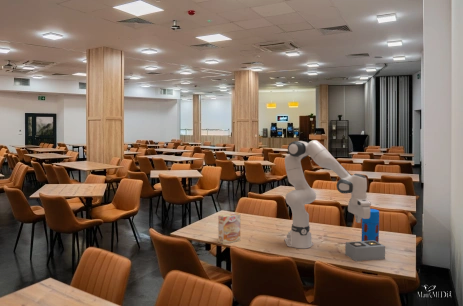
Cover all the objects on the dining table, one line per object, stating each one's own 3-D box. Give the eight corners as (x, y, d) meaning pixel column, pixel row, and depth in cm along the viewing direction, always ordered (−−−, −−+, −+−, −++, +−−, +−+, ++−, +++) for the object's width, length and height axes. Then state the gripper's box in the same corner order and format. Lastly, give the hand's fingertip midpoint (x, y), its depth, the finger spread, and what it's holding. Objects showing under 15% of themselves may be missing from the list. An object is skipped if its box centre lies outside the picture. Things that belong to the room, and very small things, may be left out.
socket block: (355, 261, 224) (355, 247, 223) (345, 254, 236) (345, 241, 235) (384, 258, 228) (385, 245, 227) (373, 252, 240) (374, 239, 239)
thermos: (372, 250, 244) (373, 212, 242) (358, 246, 252) (358, 210, 251) (381, 247, 250) (382, 210, 248) (367, 243, 259) (368, 207, 257)
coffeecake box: (223, 244, 256) (223, 216, 255) (217, 242, 262) (217, 214, 261) (240, 240, 265) (240, 213, 264) (235, 238, 271) (235, 212, 269)
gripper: (345, 197, 238) (345, 218, 239) (362, 203, 218) (362, 227, 219) (354, 196, 239) (354, 218, 240) (372, 203, 219) (371, 226, 220)
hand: (358, 222), depth 229 cm, fingers closed
